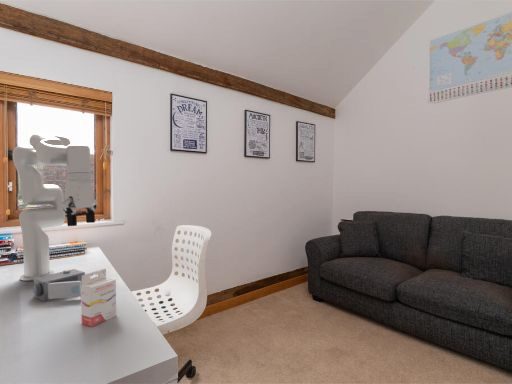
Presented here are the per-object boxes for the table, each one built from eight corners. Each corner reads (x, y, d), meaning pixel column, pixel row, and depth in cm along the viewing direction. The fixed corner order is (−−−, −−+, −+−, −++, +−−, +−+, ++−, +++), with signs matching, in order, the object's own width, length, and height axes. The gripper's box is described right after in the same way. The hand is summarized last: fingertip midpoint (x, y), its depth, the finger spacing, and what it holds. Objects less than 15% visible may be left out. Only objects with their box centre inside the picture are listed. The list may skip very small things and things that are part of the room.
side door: (46, 298, 105) (45, 282, 105) (81, 295, 107) (81, 279, 107) (43, 300, 103) (43, 284, 103) (79, 297, 105) (79, 281, 105)
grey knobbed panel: (29, 298, 108) (28, 277, 108) (74, 285, 121) (73, 267, 121) (39, 303, 103) (39, 281, 103) (85, 289, 116) (84, 270, 116)
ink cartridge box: (92, 327, 85) (90, 277, 84) (81, 324, 87) (79, 275, 86) (117, 315, 92) (116, 269, 92) (106, 312, 95) (105, 267, 94)
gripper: (86, 179, 117) (88, 221, 117) (51, 178, 100) (54, 227, 100) (103, 178, 116) (105, 221, 117) (71, 177, 99) (74, 227, 99)
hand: (81, 224), depth 108 cm, fingers open, 9 cm apart
